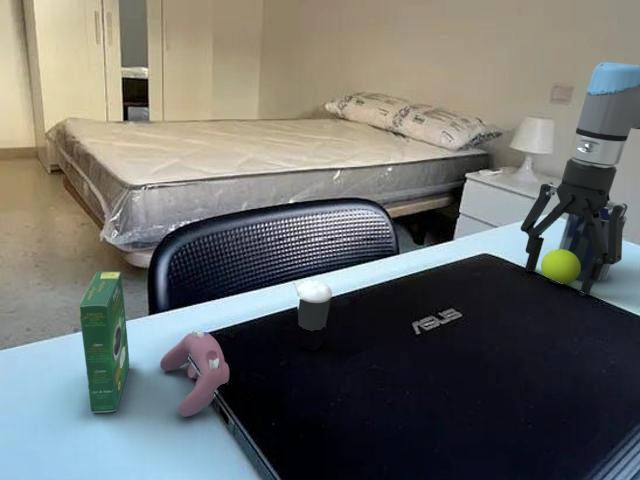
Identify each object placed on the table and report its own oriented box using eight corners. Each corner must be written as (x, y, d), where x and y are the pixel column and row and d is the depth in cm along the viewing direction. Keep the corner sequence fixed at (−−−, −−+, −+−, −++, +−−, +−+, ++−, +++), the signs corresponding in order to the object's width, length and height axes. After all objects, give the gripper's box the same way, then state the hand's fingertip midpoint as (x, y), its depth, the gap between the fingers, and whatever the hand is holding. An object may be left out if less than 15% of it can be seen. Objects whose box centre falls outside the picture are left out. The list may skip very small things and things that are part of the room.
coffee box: (105, 366, 60) (95, 268, 55) (131, 365, 60) (123, 268, 55) (89, 414, 53) (75, 307, 48) (118, 412, 53) (107, 306, 48)
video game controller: (215, 423, 55) (243, 369, 54) (177, 420, 52) (206, 363, 51) (189, 370, 63) (213, 323, 62) (155, 365, 60) (180, 315, 59)
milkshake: (283, 337, 68) (287, 272, 64) (319, 332, 70) (325, 269, 66) (293, 357, 64) (298, 289, 60) (331, 351, 66) (338, 285, 62)
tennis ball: (573, 279, 93) (583, 248, 90) (575, 294, 87) (586, 261, 85) (537, 271, 95) (546, 240, 92) (537, 285, 89) (546, 253, 87)
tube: (603, 267, 100) (623, 210, 95) (609, 286, 91) (630, 226, 87) (553, 256, 103) (569, 200, 98) (554, 274, 95) (571, 214, 90)
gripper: (519, 148, 88) (491, 262, 96) (658, 183, 72) (610, 315, 81) (540, 145, 92) (512, 254, 101) (676, 177, 77) (628, 303, 86)
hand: (556, 281), depth 91 cm, fingers open, 10 cm apart
